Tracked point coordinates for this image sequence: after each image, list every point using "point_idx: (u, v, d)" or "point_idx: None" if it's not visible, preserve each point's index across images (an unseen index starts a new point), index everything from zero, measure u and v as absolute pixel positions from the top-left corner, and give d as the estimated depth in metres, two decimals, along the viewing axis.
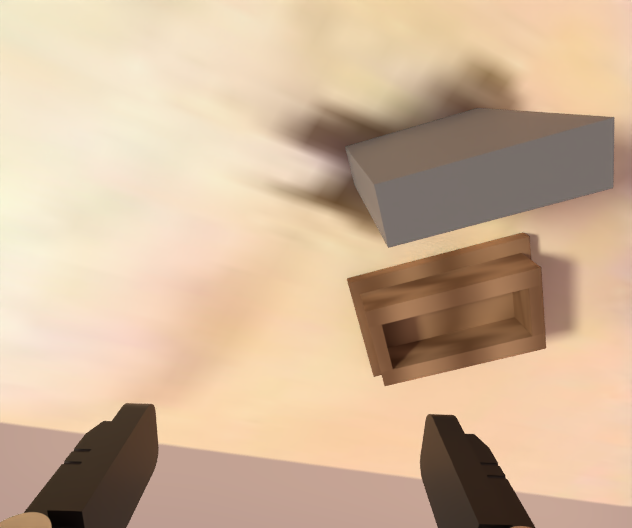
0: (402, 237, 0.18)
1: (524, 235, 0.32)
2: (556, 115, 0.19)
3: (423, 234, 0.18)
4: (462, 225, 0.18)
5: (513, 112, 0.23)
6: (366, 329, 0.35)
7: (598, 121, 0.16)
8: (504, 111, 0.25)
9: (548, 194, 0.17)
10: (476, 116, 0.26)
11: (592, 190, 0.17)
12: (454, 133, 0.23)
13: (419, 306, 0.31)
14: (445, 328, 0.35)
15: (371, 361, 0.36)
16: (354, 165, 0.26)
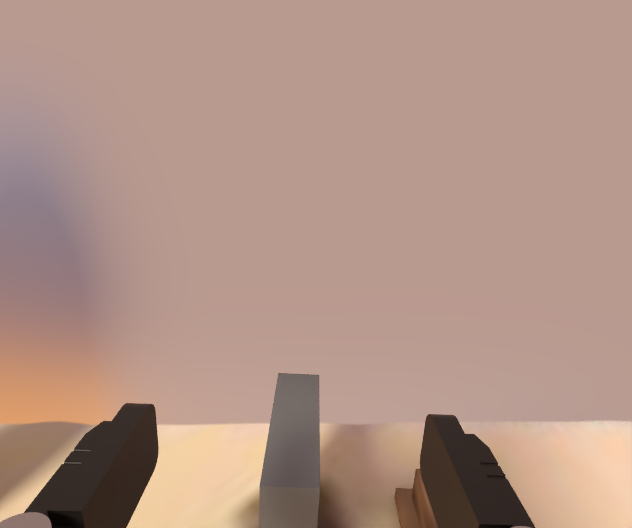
0: (313, 476, 0.21)
1: (395, 493, 0.36)
2: None
3: (316, 462, 0.21)
4: (317, 439, 0.23)
5: None
6: None
7: None
8: None
9: (312, 397, 0.27)
10: None
11: (317, 381, 0.29)
12: None
13: None
14: None
15: None
16: None
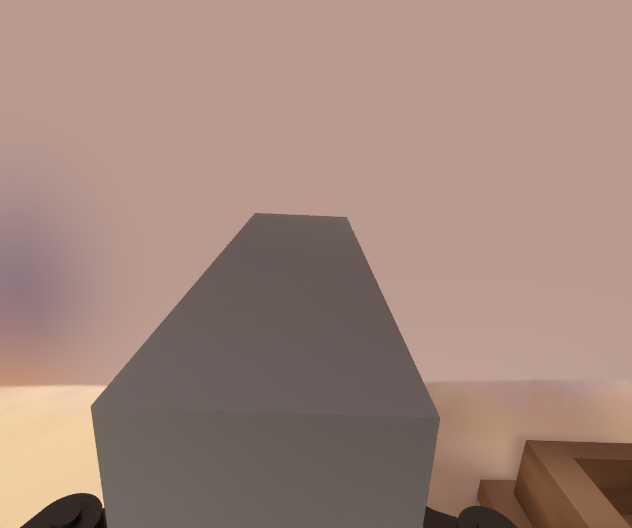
0: (389, 371, 0.04)
1: (480, 489, 0.19)
2: None
3: (383, 330, 0.05)
4: (372, 284, 0.07)
5: None
6: None
7: None
8: None
9: (336, 234, 0.10)
10: None
11: (344, 221, 0.12)
12: None
13: None
14: None
15: None
16: None
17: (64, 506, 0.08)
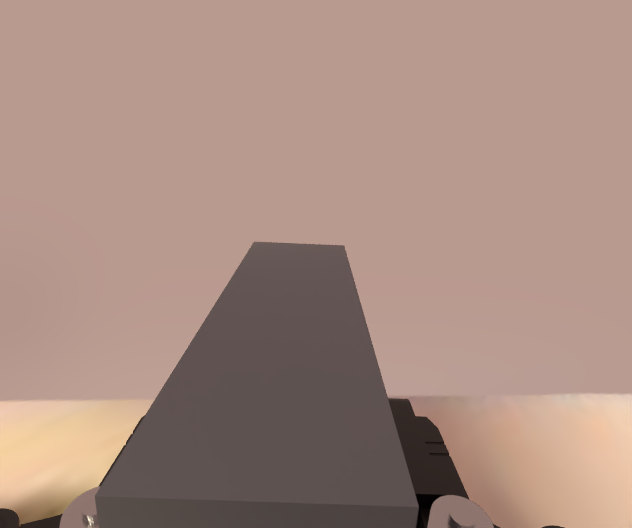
0: (374, 449, 0.04)
1: None
2: None
3: (372, 397, 0.05)
4: (363, 336, 0.07)
5: None
6: None
7: None
8: None
9: (333, 270, 0.11)
10: None
11: (341, 252, 0.12)
12: None
13: None
14: None
15: None
16: None
17: None
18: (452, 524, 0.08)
